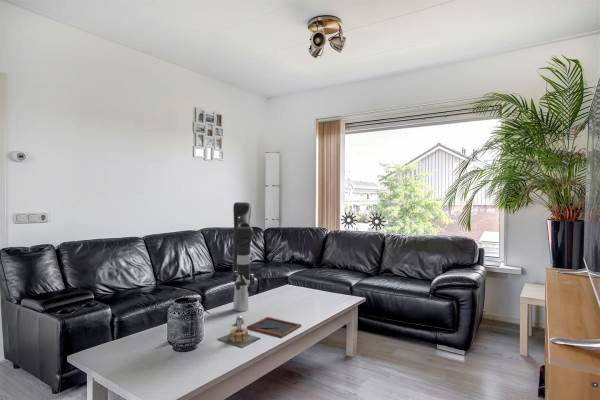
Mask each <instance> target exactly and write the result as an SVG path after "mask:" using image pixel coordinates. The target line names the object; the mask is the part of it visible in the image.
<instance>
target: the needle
mask: <svg viewBox="0 0 600 400" xmlns="http://www.w3.org/2000/svg"><path fill="white" fill-rule="evenodd" d="M241 318H242V315H241V314H238V315H237V316H236V319H237V325H236V328H237V333H240V332H241V328H242V325H241Z"/></svg>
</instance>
